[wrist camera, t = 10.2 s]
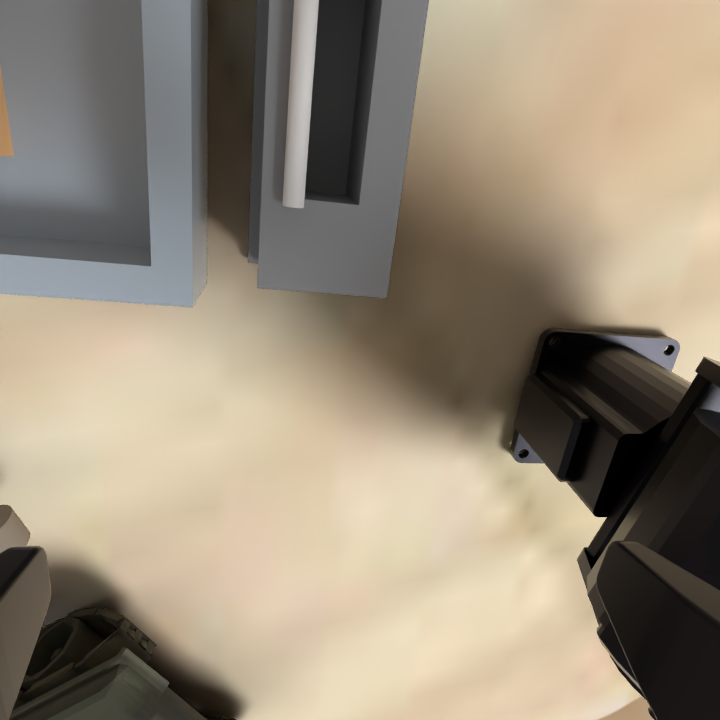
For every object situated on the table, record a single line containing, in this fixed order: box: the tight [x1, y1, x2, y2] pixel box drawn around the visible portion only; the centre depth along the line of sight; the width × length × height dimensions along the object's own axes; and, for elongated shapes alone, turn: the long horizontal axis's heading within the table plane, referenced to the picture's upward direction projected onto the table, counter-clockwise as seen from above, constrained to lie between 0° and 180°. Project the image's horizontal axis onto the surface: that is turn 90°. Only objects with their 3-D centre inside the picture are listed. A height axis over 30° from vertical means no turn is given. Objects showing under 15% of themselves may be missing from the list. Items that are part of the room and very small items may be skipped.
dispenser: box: [248, 0, 429, 298], centre depth 15 cm, size 5×12×5 cm, turn 174°
